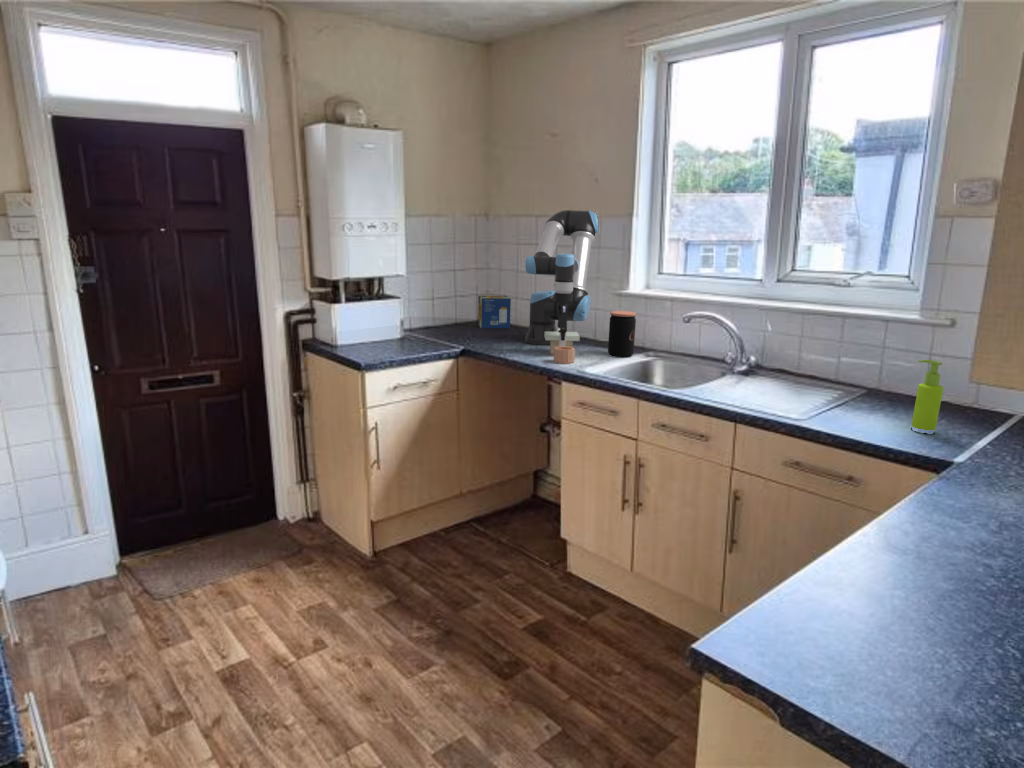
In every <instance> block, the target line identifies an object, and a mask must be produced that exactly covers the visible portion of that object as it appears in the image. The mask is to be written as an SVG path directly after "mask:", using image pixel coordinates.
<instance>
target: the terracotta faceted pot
mask: <svg viewBox="0 0 1024 768" xmlns="http://www.w3.org/2000/svg"><path fill="white" fill-rule="evenodd" d="M575 352H576V349H575V347H568V346H558V347H554V355H553V363H555V362H556V363H555V364H559V363H561V364H560V365H570V364H571V363H572V364H574V362H575Z"/></svg>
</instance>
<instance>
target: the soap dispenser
mask: <svg viewBox="0 0 1024 768" xmlns="http://www.w3.org/2000/svg"><path fill="white" fill-rule="evenodd" d="M918 363H927V364H930V369H929V371H927V372H925V376H924V382H923V383H919V384H918V386H917V392H916V398H915V403H914V408H913V415H912V420H911V425H912V426H913V427H915V428H918V429H924V430H935V429H936V430H937V425H938V419H939V414H940V409H941V404H942V398H943V392H944V387H943V386H942V385H940V378H941V373H939V371H938V369H939V366H942V364H943V362H941V361H939V360H938V361H937V360H932V359H920V360H918Z"/></svg>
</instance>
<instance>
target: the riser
mask: <svg viewBox="0 0 1024 768" xmlns="http://www.w3.org/2000/svg"><path fill="white" fill-rule="evenodd" d="M558 346H559V341H555V340H550V345H549V353H550V356H554V347H558ZM566 346H568V347H573V346H574V341H566ZM573 348H574V347H573Z"/></svg>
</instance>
